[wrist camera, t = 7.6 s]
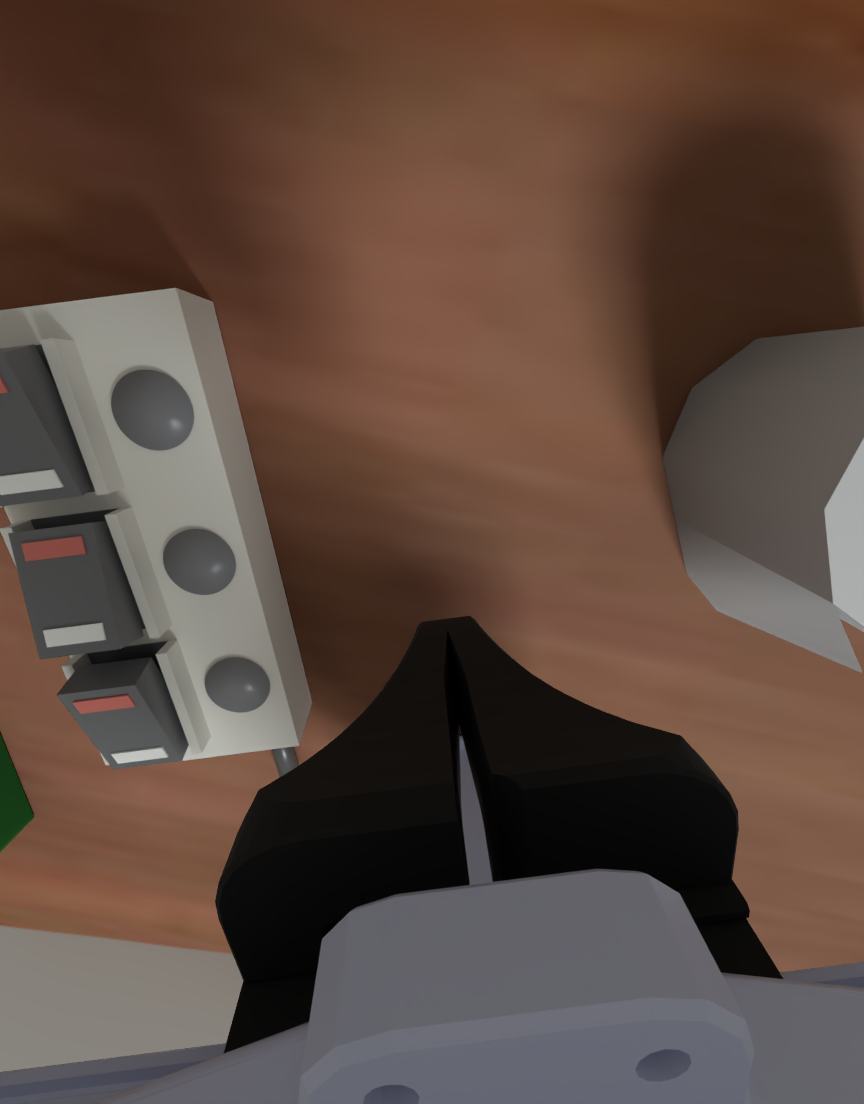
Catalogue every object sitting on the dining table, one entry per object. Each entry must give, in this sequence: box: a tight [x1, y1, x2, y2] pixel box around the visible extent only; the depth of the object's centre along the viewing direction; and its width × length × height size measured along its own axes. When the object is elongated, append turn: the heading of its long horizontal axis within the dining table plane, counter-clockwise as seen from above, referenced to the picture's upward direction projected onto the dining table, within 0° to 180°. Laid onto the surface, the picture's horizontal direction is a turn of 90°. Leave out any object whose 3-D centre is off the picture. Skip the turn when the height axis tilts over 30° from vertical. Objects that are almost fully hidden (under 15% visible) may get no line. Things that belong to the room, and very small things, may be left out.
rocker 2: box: [8, 521, 144, 659], centre depth 17 cm, size 4×3×2 cm, turn 7°
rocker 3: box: [57, 657, 189, 769], centre depth 19 cm, size 4×3×2 cm, turn 7°
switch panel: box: [0, 288, 312, 777], centre depth 20 cm, size 22×8×4 cm, turn 7°
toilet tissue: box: [662, 327, 864, 673], centre depth 17 cm, size 9×13×9 cm
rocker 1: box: [0, 344, 94, 506], centre depth 15 cm, size 4×3×2 cm, turn 7°
